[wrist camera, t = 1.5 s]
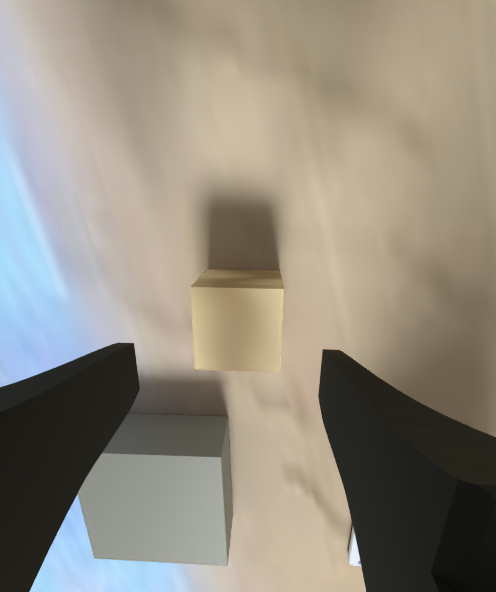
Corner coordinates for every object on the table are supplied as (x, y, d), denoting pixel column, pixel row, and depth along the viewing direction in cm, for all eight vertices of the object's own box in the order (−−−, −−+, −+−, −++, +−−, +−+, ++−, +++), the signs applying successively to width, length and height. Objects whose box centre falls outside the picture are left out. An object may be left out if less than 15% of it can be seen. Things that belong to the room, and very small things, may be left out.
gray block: (228, 412, 21) (220, 457, 18) (233, 510, 24) (227, 566, 21) (101, 409, 22) (66, 452, 18) (120, 504, 25) (94, 558, 21)
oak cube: (279, 269, 18) (284, 289, 13) (277, 336, 19) (280, 372, 15) (208, 268, 18) (190, 286, 14) (210, 333, 19) (194, 369, 15)
